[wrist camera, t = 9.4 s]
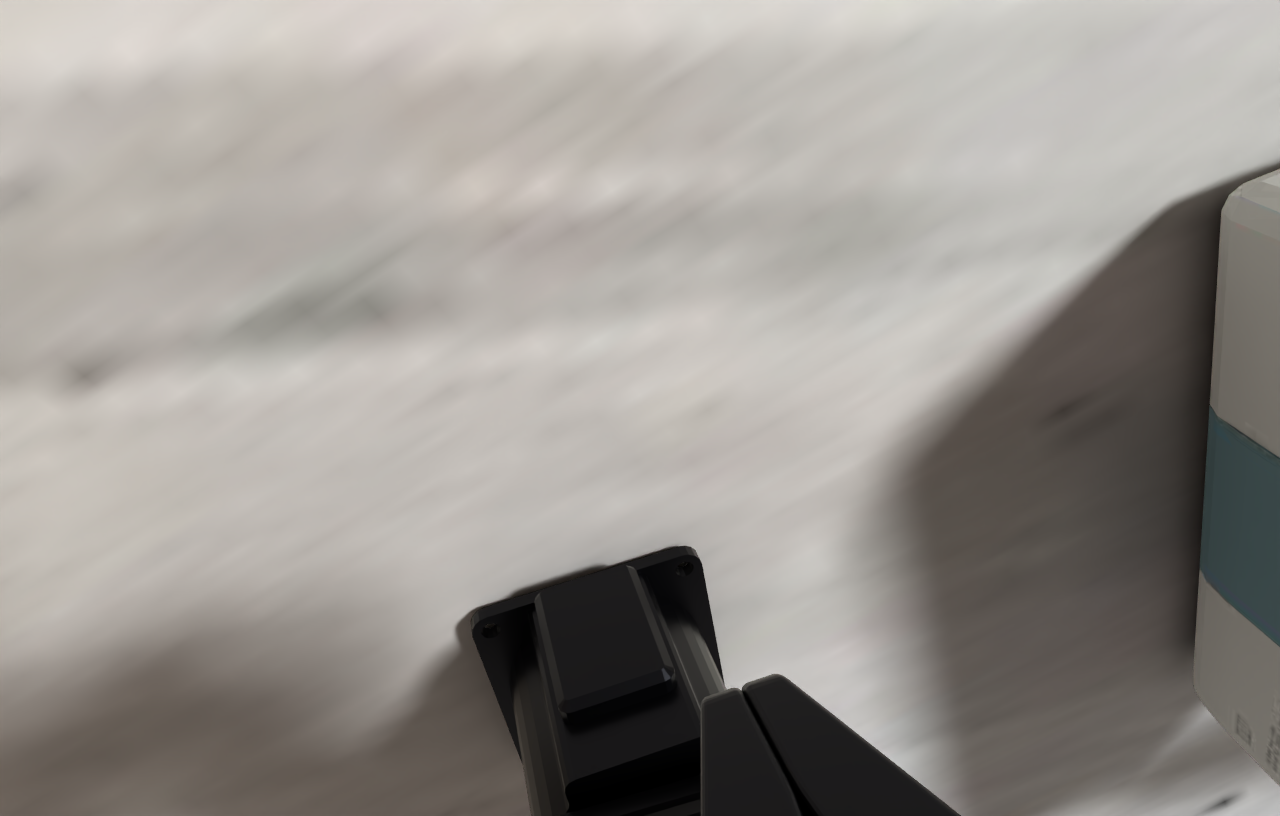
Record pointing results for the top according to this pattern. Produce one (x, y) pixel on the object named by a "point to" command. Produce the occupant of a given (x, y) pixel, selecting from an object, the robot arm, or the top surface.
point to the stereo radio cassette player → (1244, 483)
